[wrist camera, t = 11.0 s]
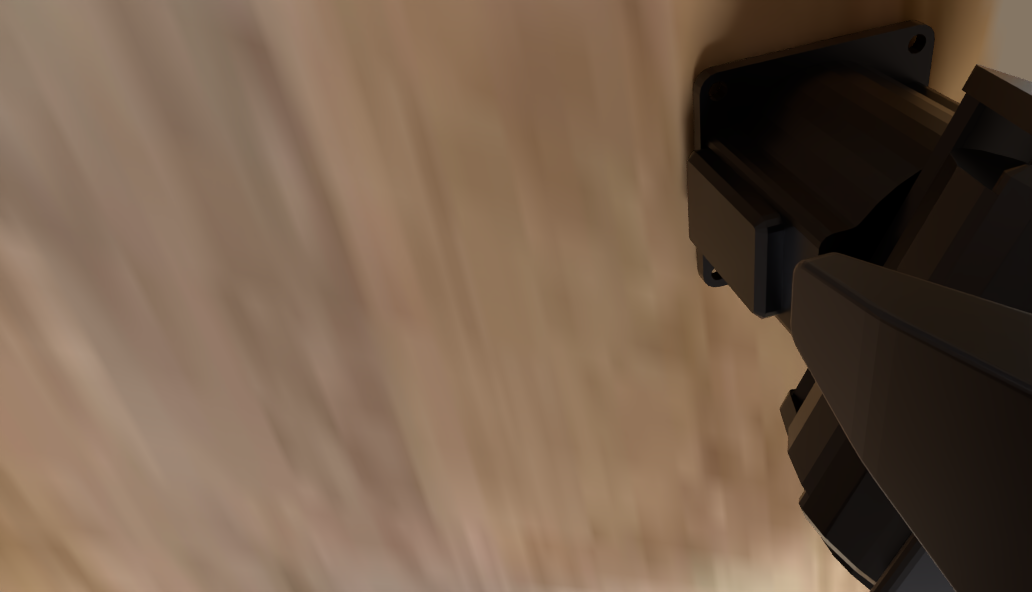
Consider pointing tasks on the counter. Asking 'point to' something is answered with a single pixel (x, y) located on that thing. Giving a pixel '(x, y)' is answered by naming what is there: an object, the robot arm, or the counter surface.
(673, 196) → the counter surface
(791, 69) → the robot arm
